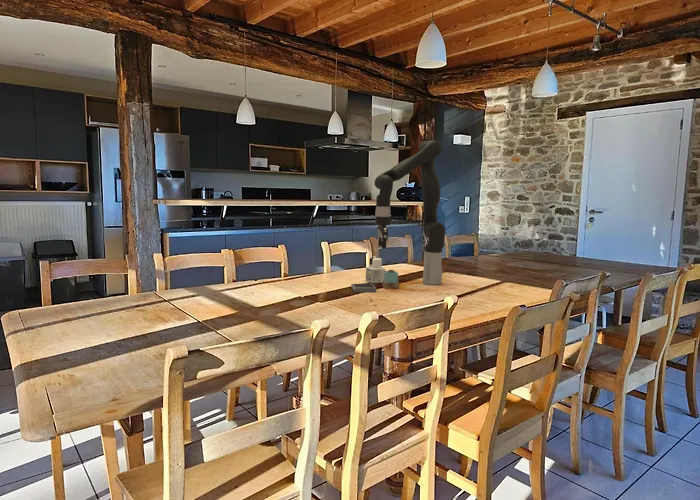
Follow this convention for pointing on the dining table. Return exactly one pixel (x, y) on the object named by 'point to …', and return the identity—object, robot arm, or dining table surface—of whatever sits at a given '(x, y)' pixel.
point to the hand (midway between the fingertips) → (382, 247)
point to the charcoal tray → (363, 287)
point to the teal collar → (390, 277)
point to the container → (375, 271)
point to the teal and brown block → (390, 285)
